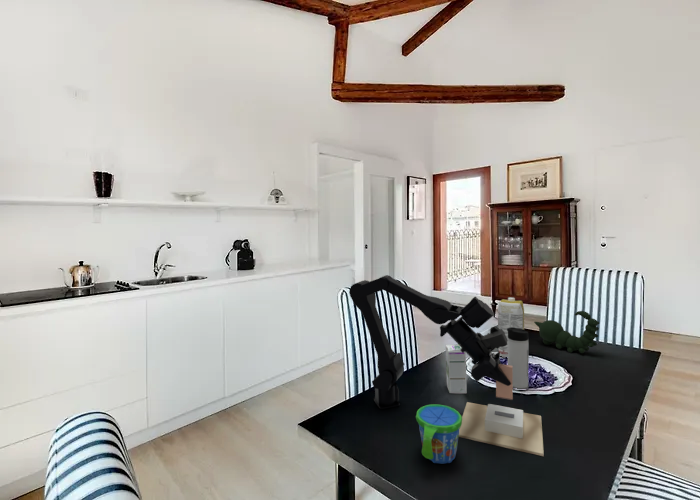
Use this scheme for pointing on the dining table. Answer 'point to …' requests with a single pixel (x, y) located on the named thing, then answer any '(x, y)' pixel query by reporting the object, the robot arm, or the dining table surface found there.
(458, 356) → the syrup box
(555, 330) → the toy figurine
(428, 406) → the snack cup
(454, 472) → the dining table surface
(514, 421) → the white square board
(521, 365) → the travel mug
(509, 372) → the salmon pink flat block
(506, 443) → the base board
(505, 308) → the juice carton
